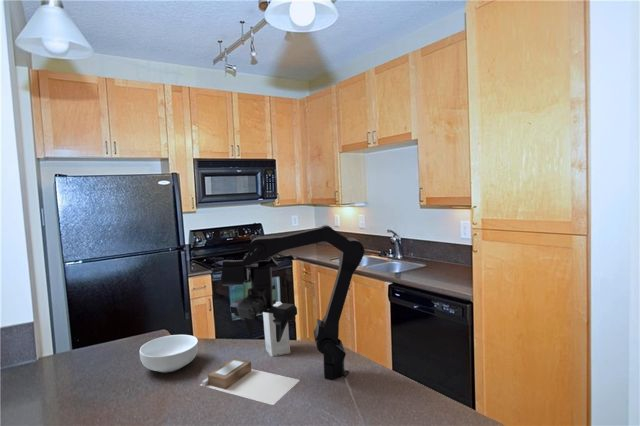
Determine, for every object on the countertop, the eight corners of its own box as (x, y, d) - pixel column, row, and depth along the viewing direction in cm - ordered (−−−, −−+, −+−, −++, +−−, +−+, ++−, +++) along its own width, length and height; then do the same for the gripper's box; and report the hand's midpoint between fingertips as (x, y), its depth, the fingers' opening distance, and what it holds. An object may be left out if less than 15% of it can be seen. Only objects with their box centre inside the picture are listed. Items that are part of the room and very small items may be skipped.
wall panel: (231, 366, 115) (231, 358, 115) (300, 382, 104) (299, 374, 104) (200, 387, 104) (199, 378, 103) (273, 408, 93) (272, 398, 92)
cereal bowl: (187, 379, 109) (186, 355, 108) (130, 381, 109) (128, 357, 108) (206, 353, 126) (205, 332, 125) (156, 355, 126) (155, 334, 125)
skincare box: (290, 355, 122) (288, 307, 121) (270, 359, 119) (267, 310, 118) (283, 345, 129) (281, 300, 128) (264, 349, 127) (261, 303, 126)
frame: (235, 367, 113) (234, 357, 113) (251, 370, 110) (250, 360, 110) (208, 384, 103) (207, 374, 103) (225, 389, 101) (224, 378, 100)
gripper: (214, 288, 101) (218, 345, 102) (273, 294, 92) (276, 357, 93) (241, 278, 111) (244, 330, 112) (296, 283, 102) (299, 340, 103)
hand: (264, 339), depth 105 cm, fingers open, 9 cm apart
